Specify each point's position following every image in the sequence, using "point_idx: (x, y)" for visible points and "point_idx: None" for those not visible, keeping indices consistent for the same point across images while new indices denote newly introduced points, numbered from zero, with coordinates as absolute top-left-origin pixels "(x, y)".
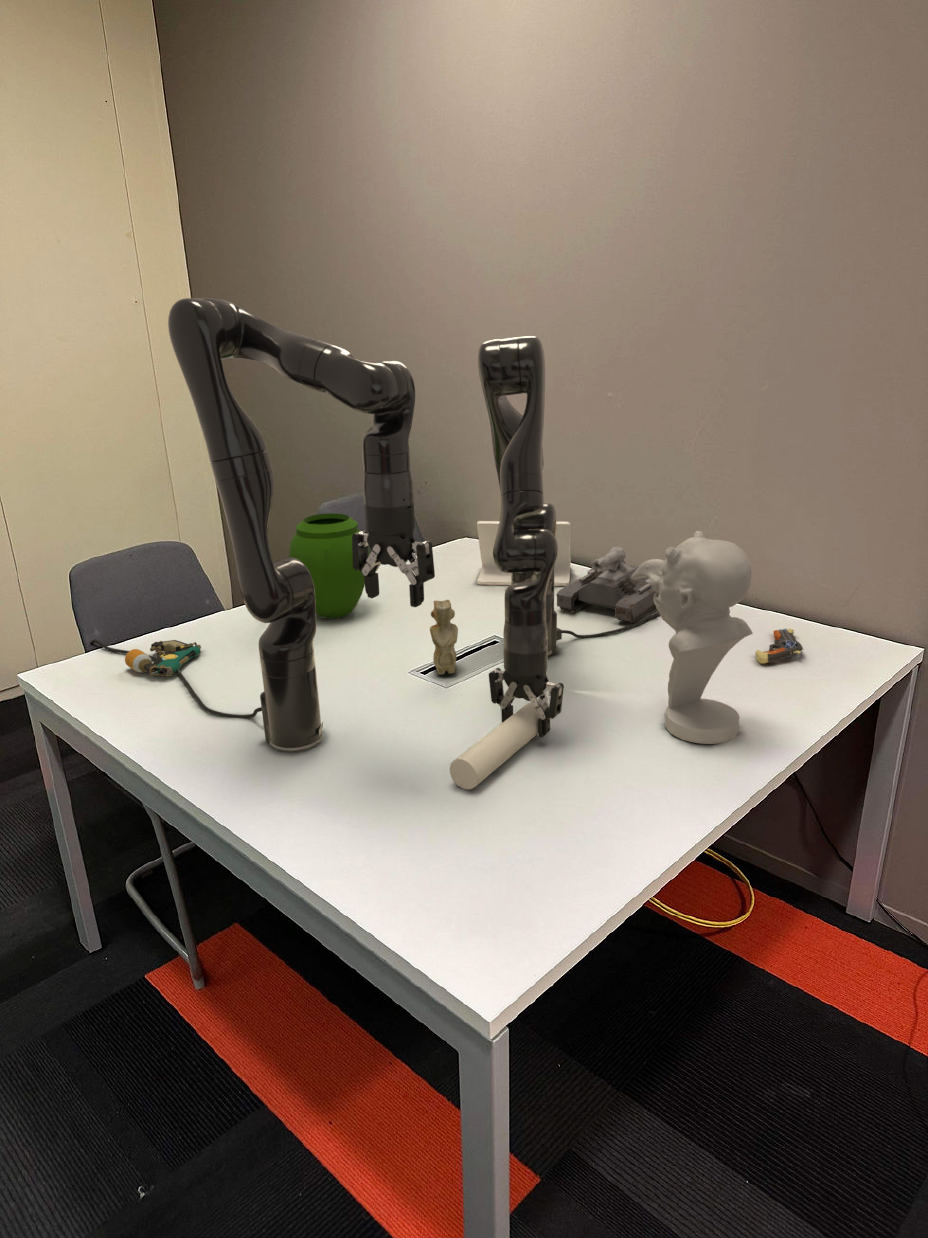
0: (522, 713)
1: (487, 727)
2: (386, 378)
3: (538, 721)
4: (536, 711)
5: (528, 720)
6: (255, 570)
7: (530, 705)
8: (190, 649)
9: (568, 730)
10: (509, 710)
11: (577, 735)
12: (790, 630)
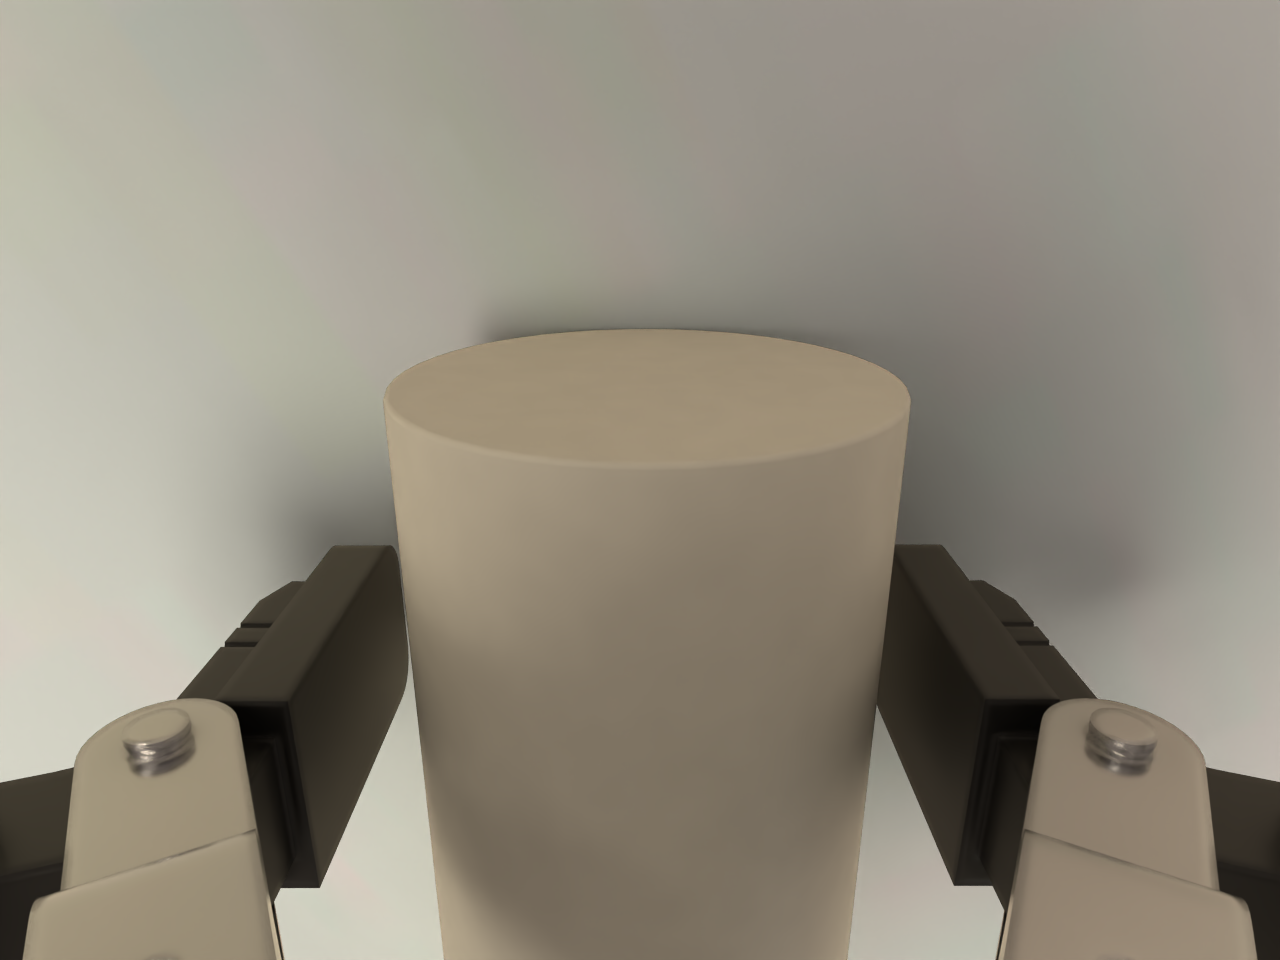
0: (660, 953)
1: (120, 591)
2: None
3: (940, 845)
4: (808, 695)
5: (806, 945)
6: None
7: (619, 637)
8: None
9: (1077, 126)
10: (323, 793)
11: (1240, 199)
12: None
